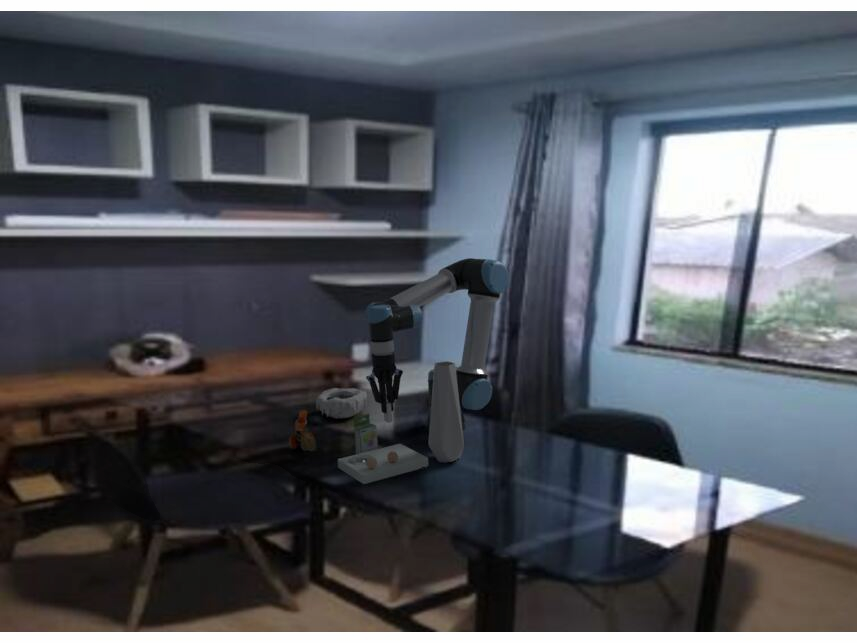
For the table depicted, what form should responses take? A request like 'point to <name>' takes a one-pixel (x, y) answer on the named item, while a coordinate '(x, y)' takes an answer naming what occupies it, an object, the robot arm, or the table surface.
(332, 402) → the bowl
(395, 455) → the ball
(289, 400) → the table surface
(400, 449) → the white tray
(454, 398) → the vase
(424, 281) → the robot arm
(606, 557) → the table surface
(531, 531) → the table surface
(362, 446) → the ink box
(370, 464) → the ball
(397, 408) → the table surface
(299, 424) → the toy helicopter
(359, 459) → the steel ball
